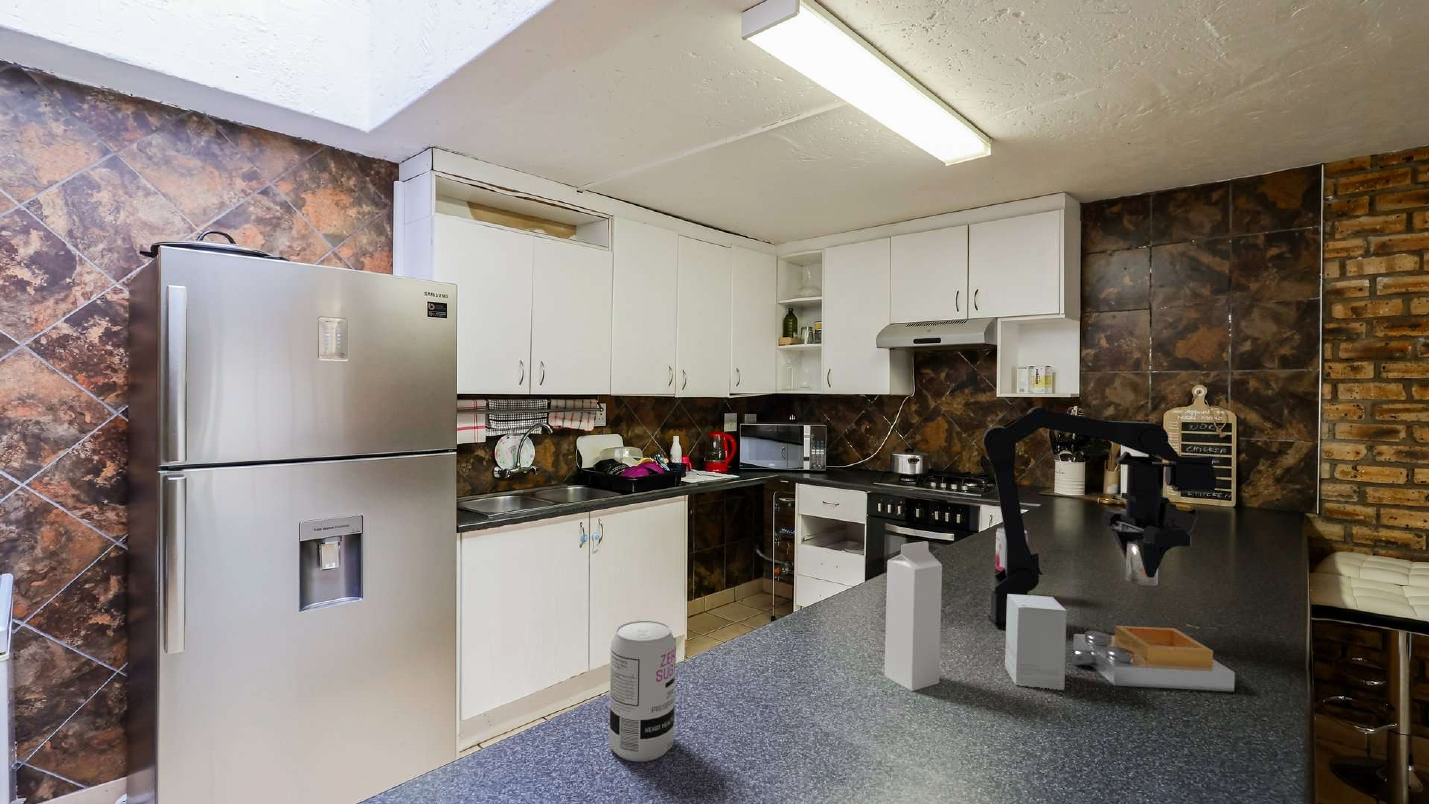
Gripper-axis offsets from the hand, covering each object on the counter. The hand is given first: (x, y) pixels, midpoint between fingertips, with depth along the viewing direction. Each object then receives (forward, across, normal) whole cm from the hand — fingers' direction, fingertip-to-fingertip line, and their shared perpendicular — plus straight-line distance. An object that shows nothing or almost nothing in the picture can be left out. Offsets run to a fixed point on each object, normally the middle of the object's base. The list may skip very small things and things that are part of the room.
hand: (1141, 573), depth 123 cm
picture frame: (+13, -13, +7) cm, 19 cm away
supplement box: (+13, -18, +27) cm, 35 cm away
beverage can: (+13, +26, +14) cm, 32 cm away
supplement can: (+13, -44, +86) cm, 98 cm away
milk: (+13, -21, +47) cm, 53 cm away
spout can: (+2, 0, -1) cm, 2 cm away
